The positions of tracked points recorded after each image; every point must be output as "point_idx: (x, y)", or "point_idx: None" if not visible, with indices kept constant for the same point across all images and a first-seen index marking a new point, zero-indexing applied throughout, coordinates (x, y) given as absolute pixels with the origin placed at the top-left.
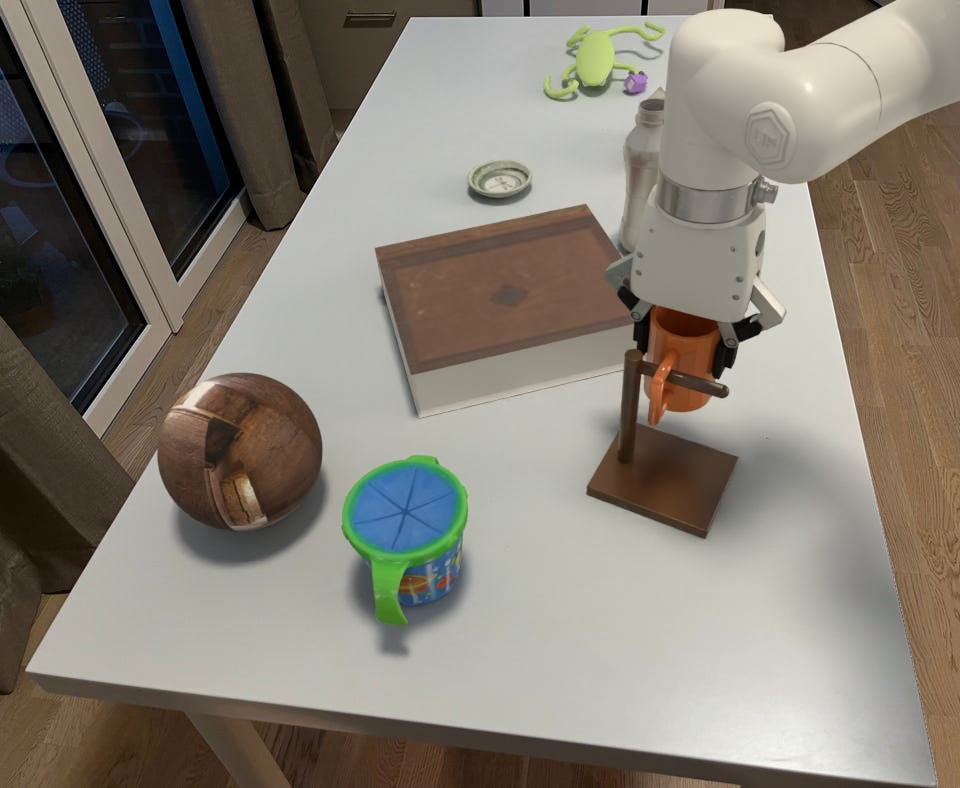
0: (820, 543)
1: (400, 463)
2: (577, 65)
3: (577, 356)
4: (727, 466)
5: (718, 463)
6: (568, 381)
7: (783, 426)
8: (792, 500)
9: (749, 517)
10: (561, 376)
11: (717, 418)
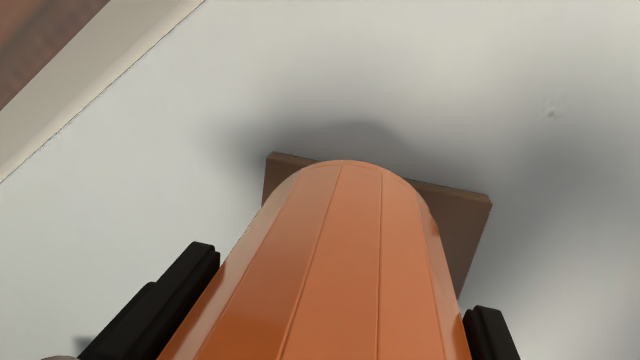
0: (619, 318)
1: None
2: None
3: (103, 41)
4: (469, 230)
5: (452, 227)
6: (132, 60)
7: (595, 70)
8: (584, 250)
9: (505, 292)
10: (112, 61)
11: (445, 83)
